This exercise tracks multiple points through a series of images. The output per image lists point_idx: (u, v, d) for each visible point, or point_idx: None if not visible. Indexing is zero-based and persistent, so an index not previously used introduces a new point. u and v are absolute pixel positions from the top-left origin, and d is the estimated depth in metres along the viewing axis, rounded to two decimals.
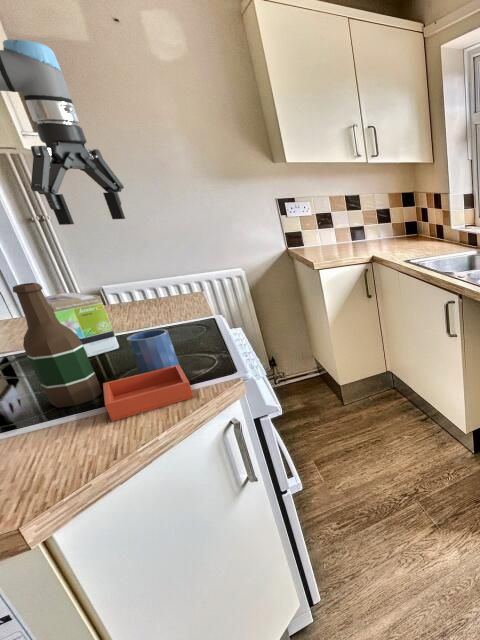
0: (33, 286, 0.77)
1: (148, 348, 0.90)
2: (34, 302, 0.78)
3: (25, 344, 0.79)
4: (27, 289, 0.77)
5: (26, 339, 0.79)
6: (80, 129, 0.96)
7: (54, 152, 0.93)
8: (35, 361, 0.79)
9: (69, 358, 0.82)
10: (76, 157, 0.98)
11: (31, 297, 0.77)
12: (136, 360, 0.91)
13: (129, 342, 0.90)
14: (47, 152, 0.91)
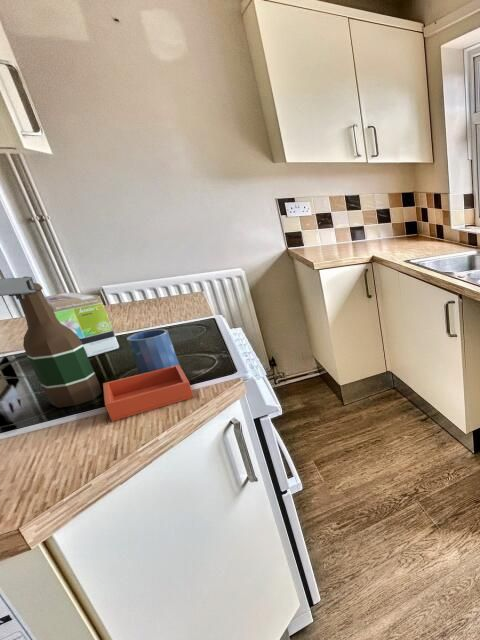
0: None
1: (148, 348, 0.90)
2: (34, 302, 0.78)
3: (25, 344, 0.79)
4: None
5: (26, 339, 0.79)
6: None
7: None
8: (35, 361, 0.79)
9: (69, 358, 0.82)
10: None
11: (31, 297, 0.77)
12: (136, 360, 0.91)
13: (129, 342, 0.90)
14: None
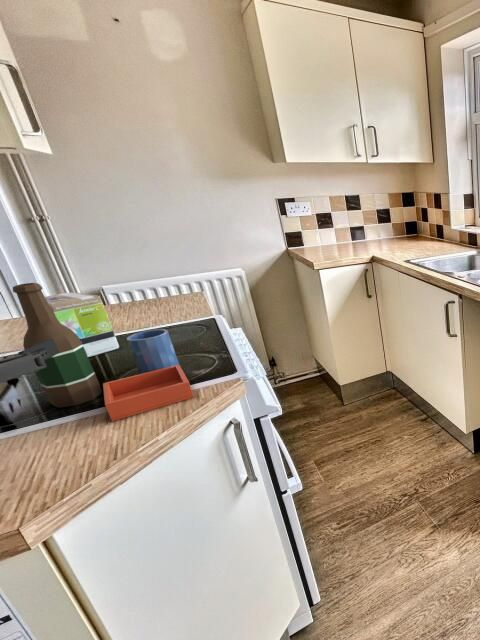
0: (33, 286, 0.77)
1: (148, 348, 0.90)
2: (34, 302, 0.78)
3: (25, 344, 0.79)
4: (27, 289, 0.77)
5: (26, 339, 0.79)
6: None
7: None
8: None
9: (69, 358, 0.82)
10: None
11: (31, 297, 0.77)
12: (136, 360, 0.91)
13: (129, 342, 0.90)
14: None
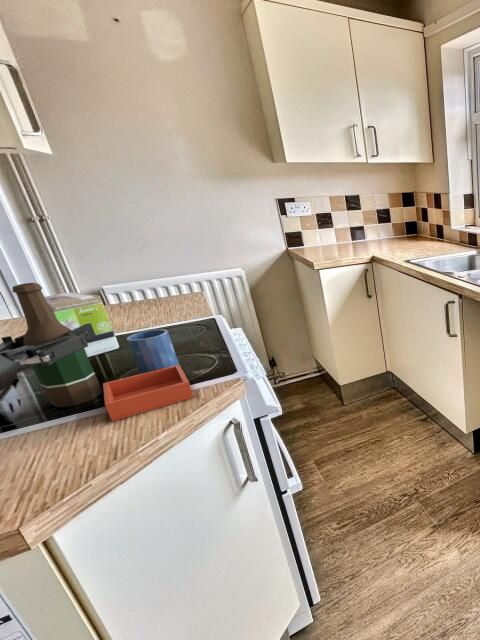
0: (33, 286, 0.77)
1: (148, 348, 0.90)
2: (33, 302, 0.78)
3: (25, 344, 0.79)
4: (27, 289, 0.77)
5: (26, 339, 0.79)
6: None
7: None
8: None
9: (69, 358, 0.82)
10: None
11: (31, 297, 0.77)
12: (136, 360, 0.91)
13: (129, 342, 0.90)
14: None
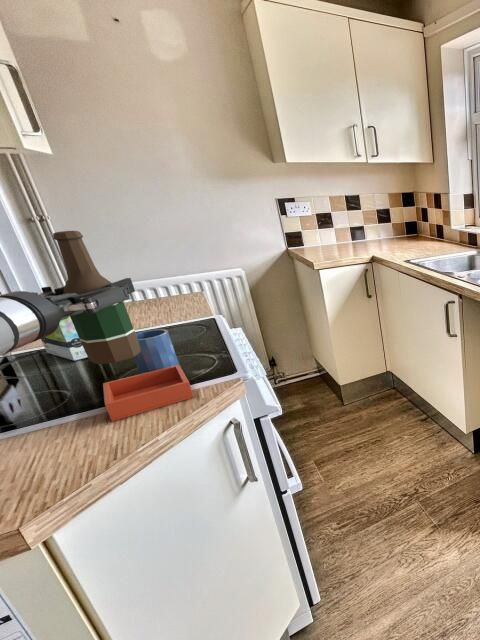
0: (74, 233, 0.74)
1: (148, 348, 0.90)
2: (74, 251, 0.74)
3: None
4: (68, 236, 0.73)
5: (66, 290, 0.75)
6: (36, 340, 0.64)
7: None
8: None
9: (110, 311, 0.78)
10: None
11: (72, 245, 0.74)
12: (136, 360, 0.91)
13: None
14: None
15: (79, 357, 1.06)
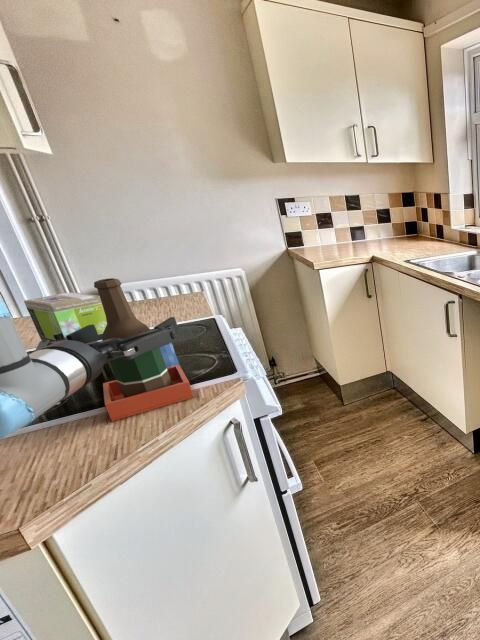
0: (114, 281, 0.77)
1: None
2: (114, 298, 0.77)
3: None
4: (108, 284, 0.76)
5: (106, 335, 0.78)
6: None
7: None
8: None
9: (146, 354, 0.81)
10: None
11: (112, 293, 0.77)
12: None
13: None
14: None
15: None
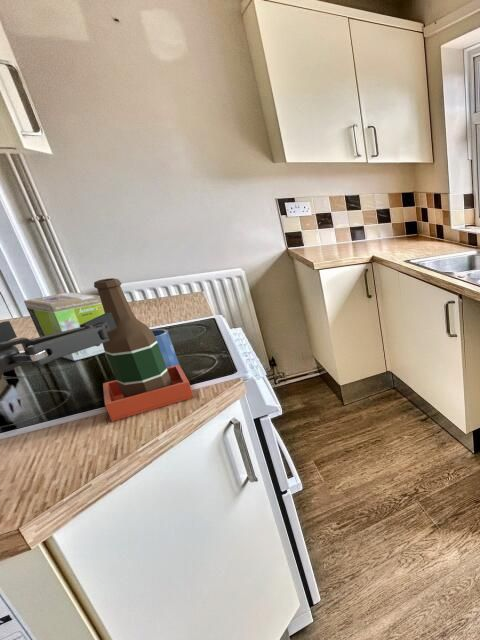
0: (114, 281, 0.77)
1: None
2: (114, 298, 0.77)
3: None
4: (108, 284, 0.76)
5: None
6: None
7: None
8: (114, 357, 0.78)
9: (146, 354, 0.81)
10: None
11: (112, 293, 0.77)
12: None
13: None
14: None
15: (79, 357, 1.06)
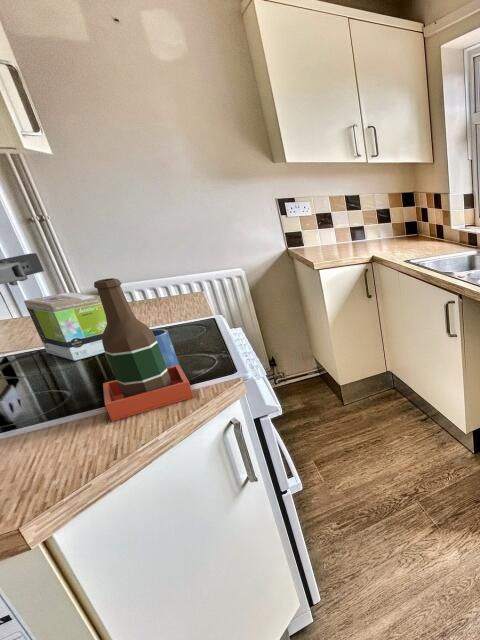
0: (114, 281, 0.77)
1: None
2: (114, 298, 0.77)
3: (104, 340, 0.78)
4: (108, 284, 0.76)
5: (106, 335, 0.78)
6: None
7: None
8: (114, 357, 0.78)
9: (146, 354, 0.81)
10: None
11: (112, 293, 0.77)
12: None
13: None
14: None
15: (79, 357, 1.06)
